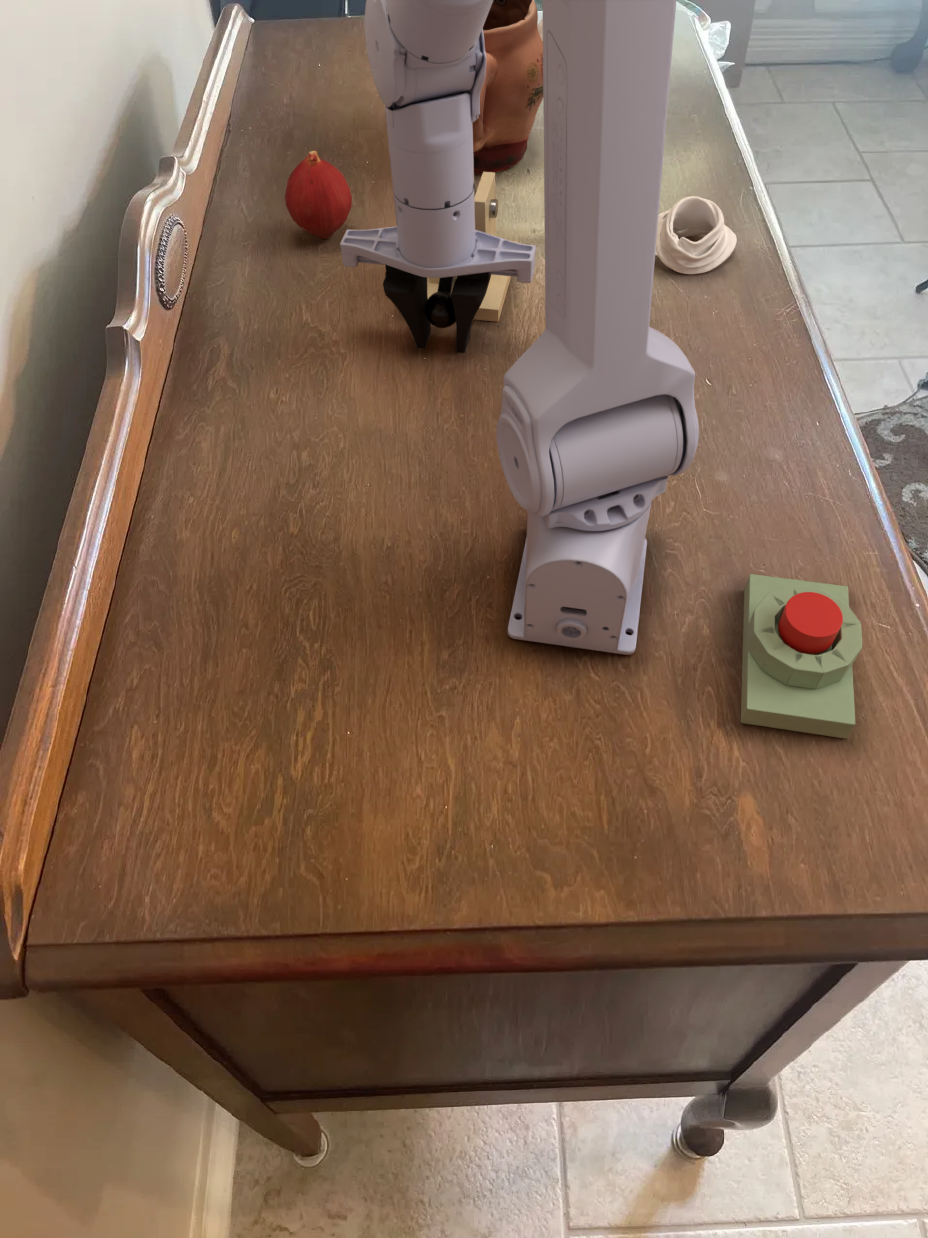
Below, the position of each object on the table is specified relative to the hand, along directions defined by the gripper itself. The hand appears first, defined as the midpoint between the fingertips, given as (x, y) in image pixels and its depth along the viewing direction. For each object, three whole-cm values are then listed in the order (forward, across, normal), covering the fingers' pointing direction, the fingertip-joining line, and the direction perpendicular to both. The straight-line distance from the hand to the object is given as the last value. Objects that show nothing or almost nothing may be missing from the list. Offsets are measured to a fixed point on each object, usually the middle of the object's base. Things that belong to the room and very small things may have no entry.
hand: (443, 345), depth 76 cm
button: (-4, -28, +27) cm, 39 cm away
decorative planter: (0, +2, -28) cm, 28 cm away
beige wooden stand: (0, 0, -8) cm, 8 cm away
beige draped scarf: (0, -19, -15) cm, 24 cm away
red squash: (0, +14, -13) cm, 19 cm away
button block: (-1, -28, +27) cm, 38 cm away
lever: (-4, 0, -5) cm, 6 cm away
